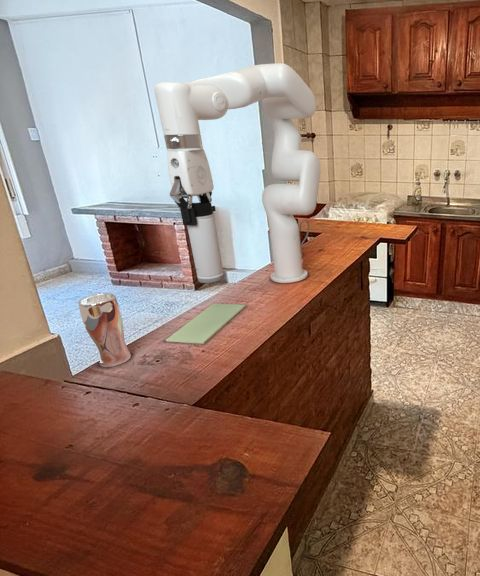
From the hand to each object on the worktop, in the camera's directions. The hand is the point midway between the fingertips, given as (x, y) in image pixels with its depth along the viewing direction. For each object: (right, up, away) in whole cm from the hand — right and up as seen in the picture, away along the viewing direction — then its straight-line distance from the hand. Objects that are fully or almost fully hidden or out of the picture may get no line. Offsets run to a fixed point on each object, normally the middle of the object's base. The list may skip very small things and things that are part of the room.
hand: (199, 221), depth 96 cm
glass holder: (+9, -3, +66) cm, 67 cm away
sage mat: (-2, -26, +10) cm, 27 cm away
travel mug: (0, -14, +6) cm, 15 cm away
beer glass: (-16, -33, -7) cm, 37 cm away
